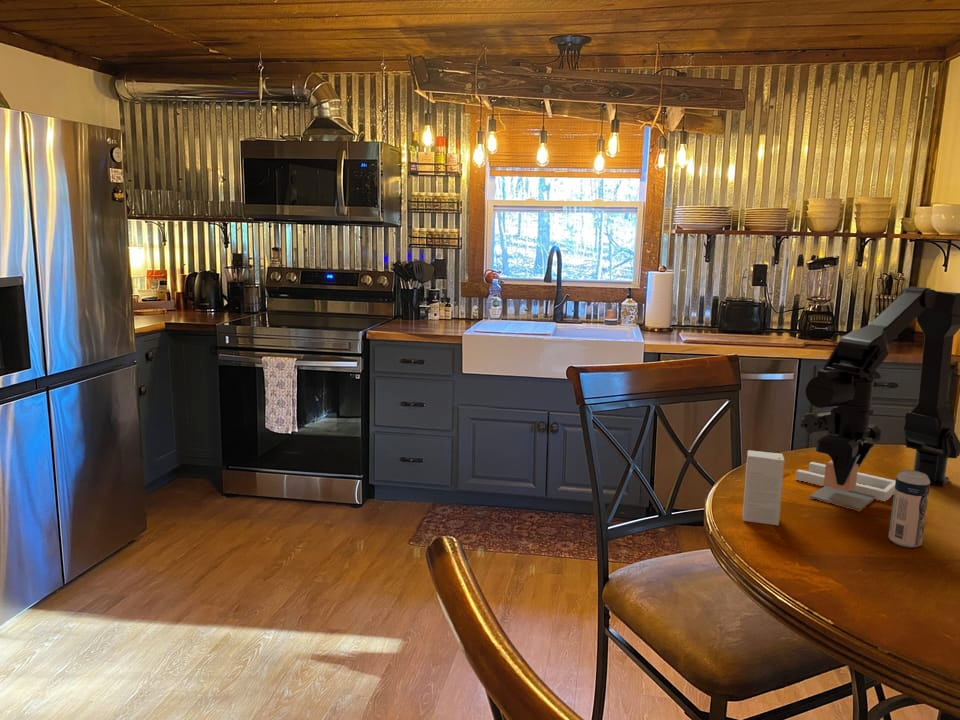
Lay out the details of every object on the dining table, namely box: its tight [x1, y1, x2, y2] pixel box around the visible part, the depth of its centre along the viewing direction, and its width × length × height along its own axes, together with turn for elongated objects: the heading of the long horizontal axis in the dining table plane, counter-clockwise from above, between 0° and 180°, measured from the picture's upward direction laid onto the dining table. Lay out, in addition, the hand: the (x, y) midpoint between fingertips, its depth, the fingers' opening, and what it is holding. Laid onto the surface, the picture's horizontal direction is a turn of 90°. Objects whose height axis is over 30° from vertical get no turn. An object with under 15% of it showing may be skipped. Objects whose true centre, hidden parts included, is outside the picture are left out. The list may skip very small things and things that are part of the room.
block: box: [823, 459, 859, 492], centre depth 138 cm, size 4×4×4 cm
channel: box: [795, 461, 896, 502], centre depth 145 cm, size 9×17×2 cm, turn 46°
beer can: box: [887, 469, 931, 549], centre depth 117 cm, size 5×5×12 cm
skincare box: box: [742, 449, 786, 526], centre depth 126 cm, size 6×4×12 cm
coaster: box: [809, 486, 875, 510], centre depth 138 cm, size 9×9×1 cm
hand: (844, 481), depth 137 cm, fingers closed on block, 4 cm apart
